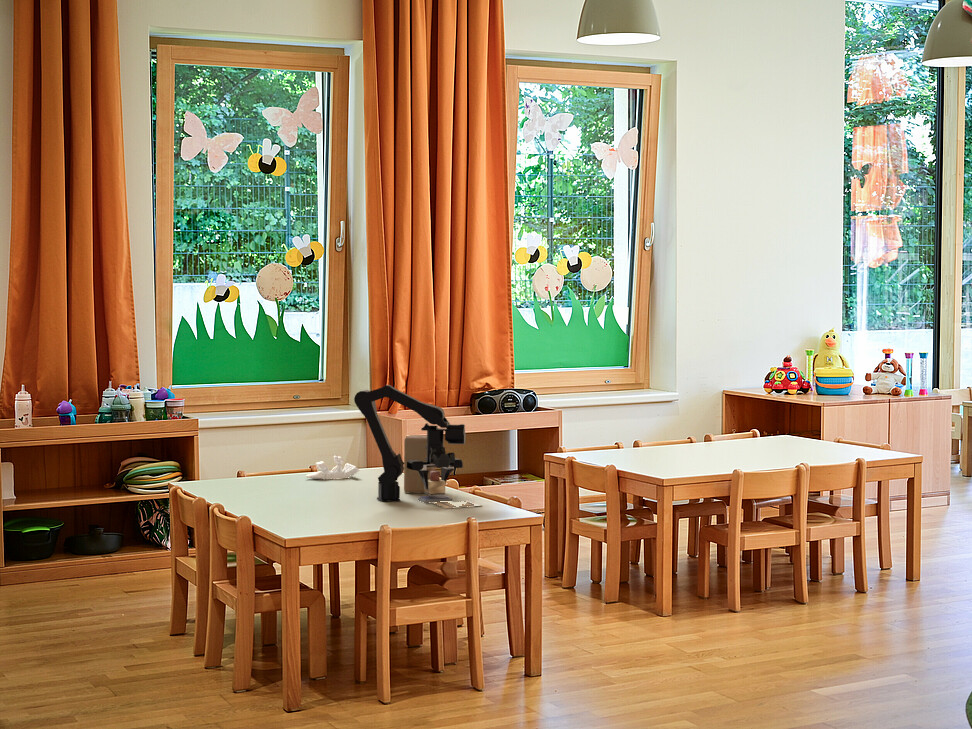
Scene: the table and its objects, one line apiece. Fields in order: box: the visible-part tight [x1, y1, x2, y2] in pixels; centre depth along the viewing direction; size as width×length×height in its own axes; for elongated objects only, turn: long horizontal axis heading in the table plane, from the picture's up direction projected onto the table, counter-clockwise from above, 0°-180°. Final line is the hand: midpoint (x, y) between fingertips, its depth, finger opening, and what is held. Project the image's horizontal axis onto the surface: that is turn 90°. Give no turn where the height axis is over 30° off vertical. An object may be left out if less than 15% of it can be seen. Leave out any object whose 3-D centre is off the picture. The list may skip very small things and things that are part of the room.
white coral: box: [305, 455, 360, 480], centre depth 442 cm, size 11×20×9 cm, turn 115°
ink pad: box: [417, 494, 453, 504], centre depth 390 cm, size 10×7×2 cm
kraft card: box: [434, 500, 475, 509], centre depth 382 cm, size 13×11×1 cm
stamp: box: [423, 470, 446, 496], centre depth 390 cm, size 6×6×8 cm
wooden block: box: [403, 434, 436, 494], centre depth 411 cm, size 10×10×20 cm
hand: (434, 489), depth 390 cm, fingers closed on stamp, 5 cm apart
